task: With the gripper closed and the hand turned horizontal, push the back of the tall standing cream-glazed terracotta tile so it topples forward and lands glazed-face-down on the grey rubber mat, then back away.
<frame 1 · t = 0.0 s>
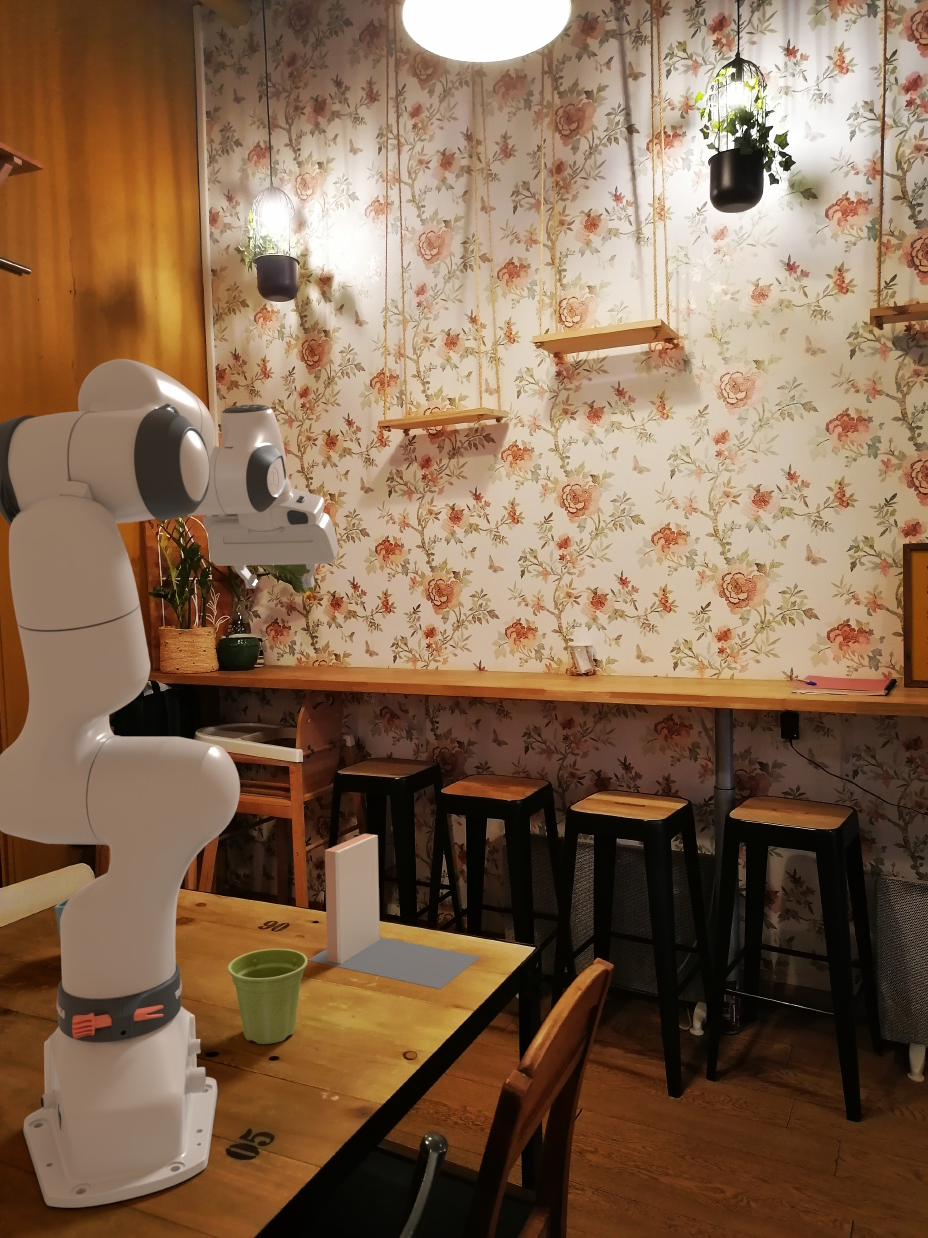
hand: (280, 586, 150), 54 cm above the table, tool tilted 30°, fingers open, 8 cm apart
plant pot: (269, 1035, 113), on the table
tile: (354, 950, 138), resting on mat
mat: (394, 961, 134), on the table
flower pot: (99, 958, 138), on the table
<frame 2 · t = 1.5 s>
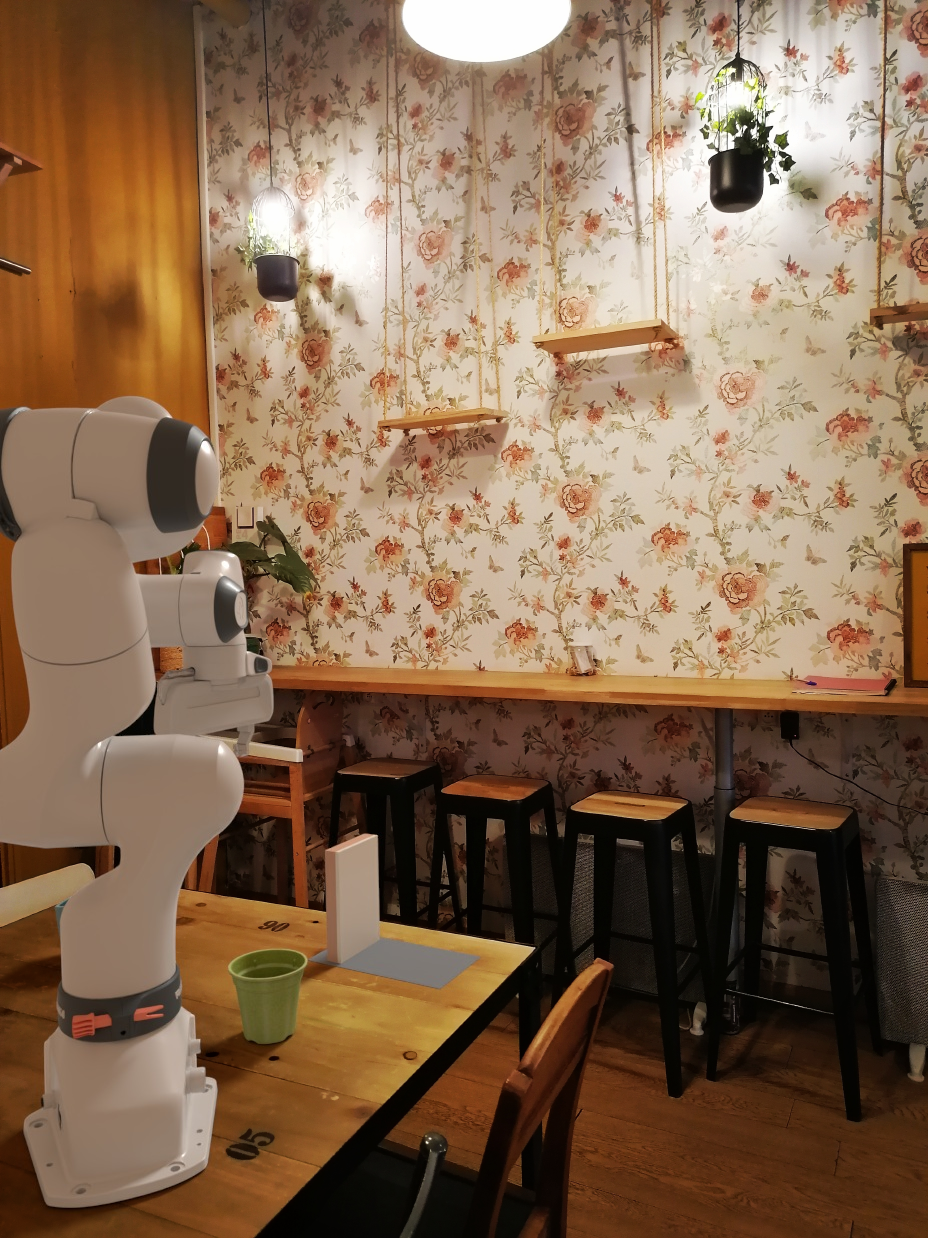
hand: (217, 761, 133), 29 cm above the table, tool pointing down, fingers open, 8 cm apart
nothing on the table moved.
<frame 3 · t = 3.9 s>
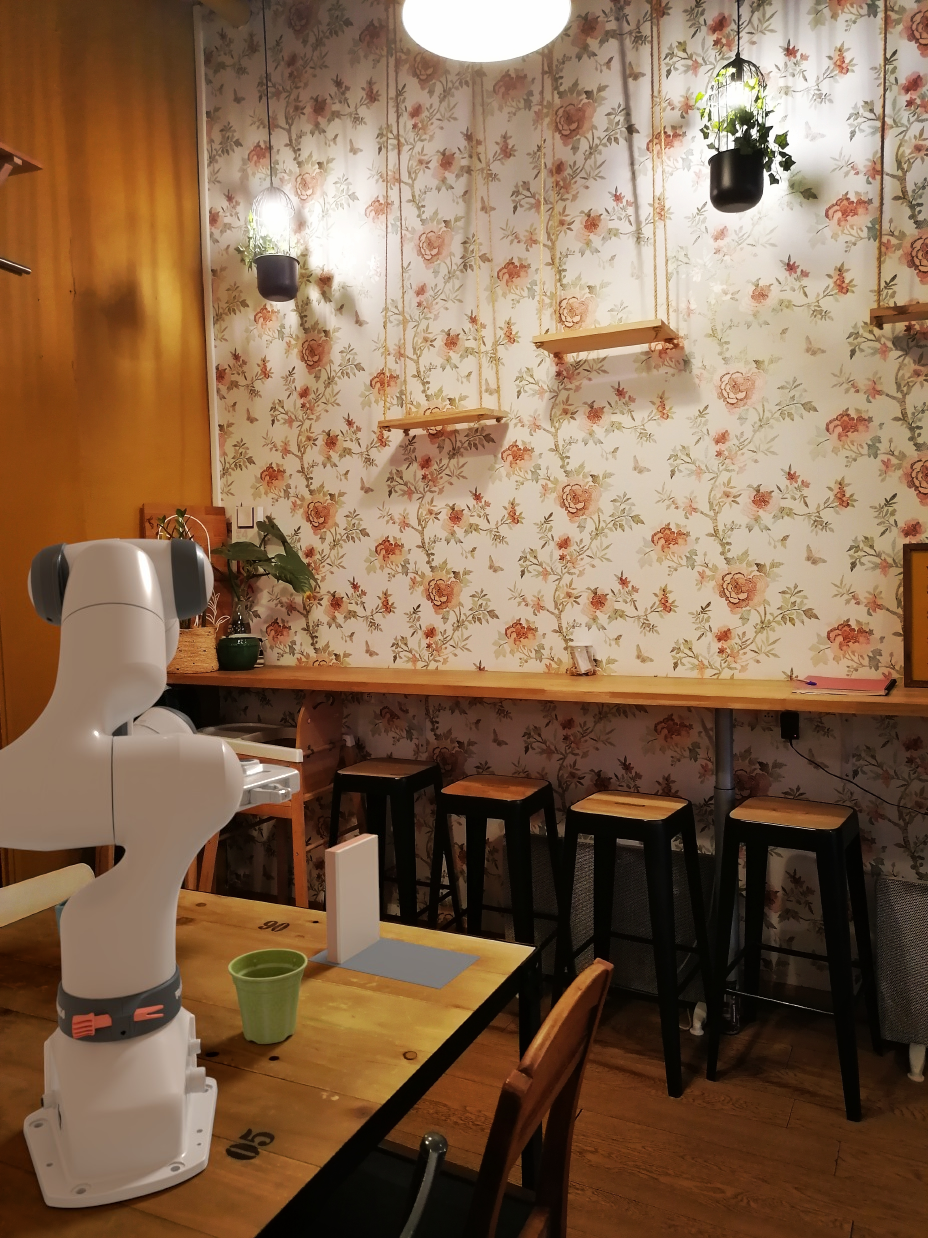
hand: (285, 796, 143), 22 cm above the table, tool horizontal, fingers closed
nothing on the table moved.
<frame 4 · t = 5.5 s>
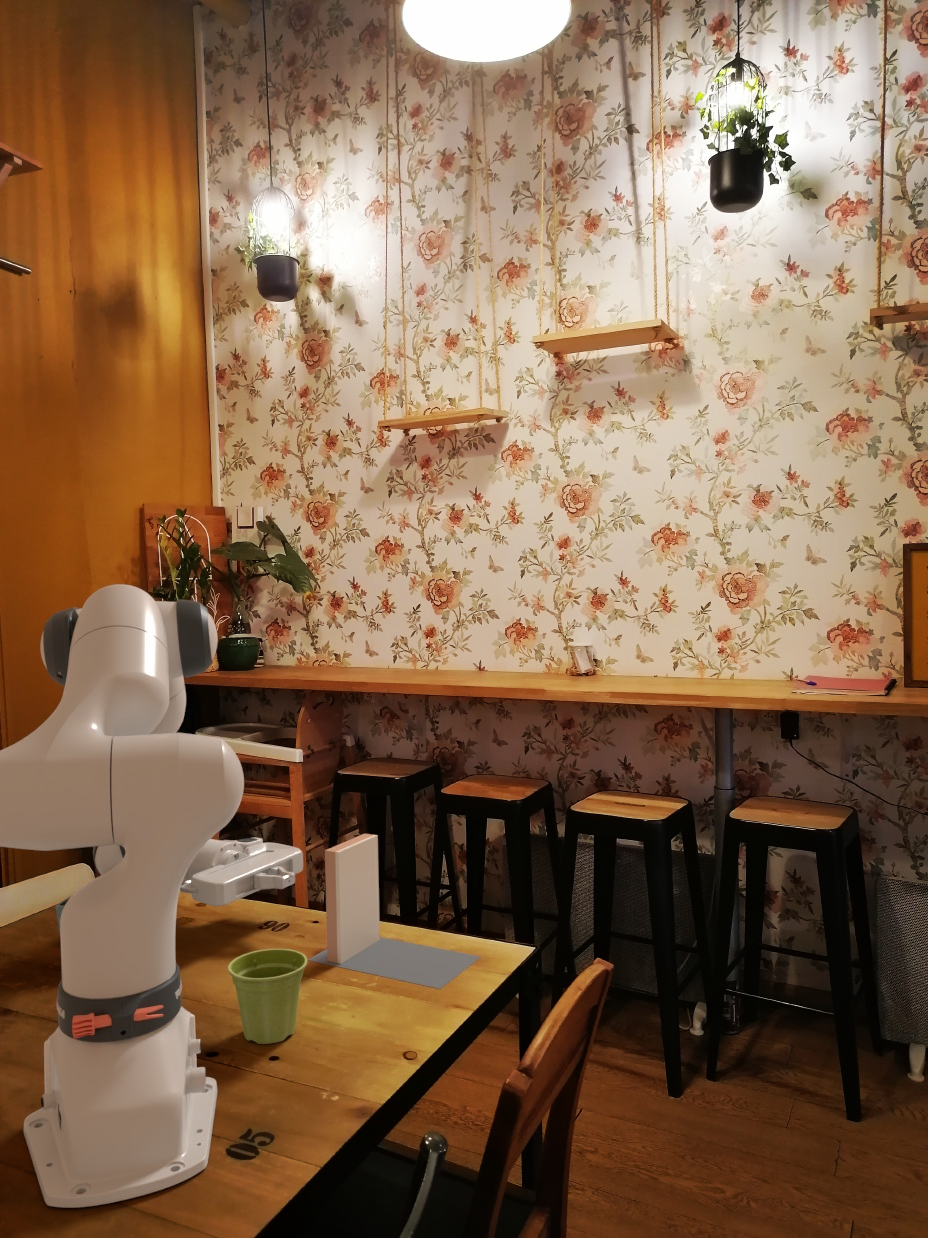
hand: (289, 881, 143), 9 cm above the table, tool horizontal, fingers closed
flower pot: (99, 958, 138), on the table, touching arm
everything else where it was.
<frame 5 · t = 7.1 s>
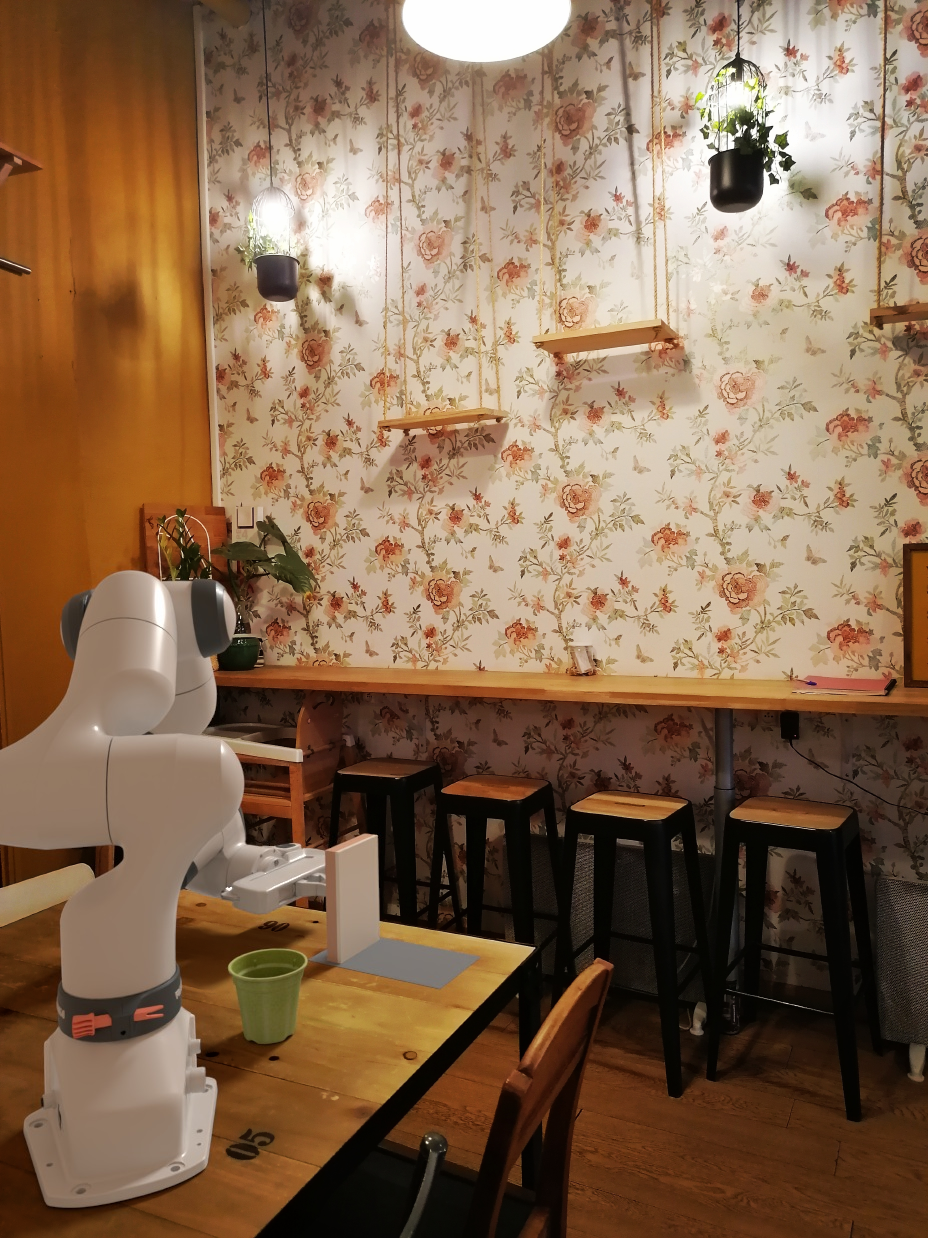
hand: (332, 888, 139), 9 cm above the table, tool horizontal, fingers closed
flower pot: (108, 947, 137), point 2 cm above the table, touching arm
everything else where it was.
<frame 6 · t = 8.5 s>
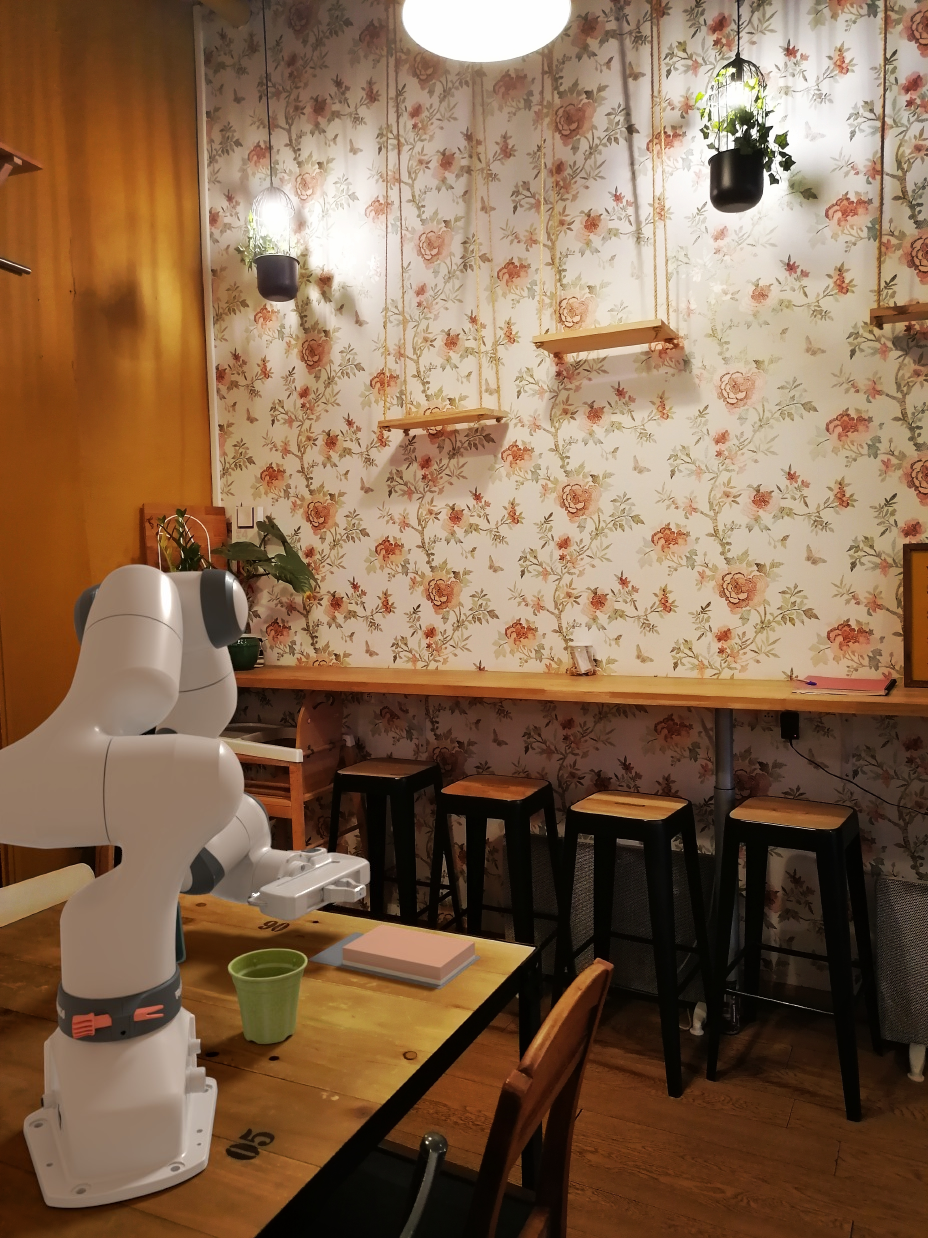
hand: (360, 894, 137), 9 cm above the table, tool horizontal, fingers closed
tile: (362, 943, 137), point 2 cm above the table, tilted 90°, touching mat
flower pot: (117, 937, 137), point 3 cm above the table
everything else where it was.
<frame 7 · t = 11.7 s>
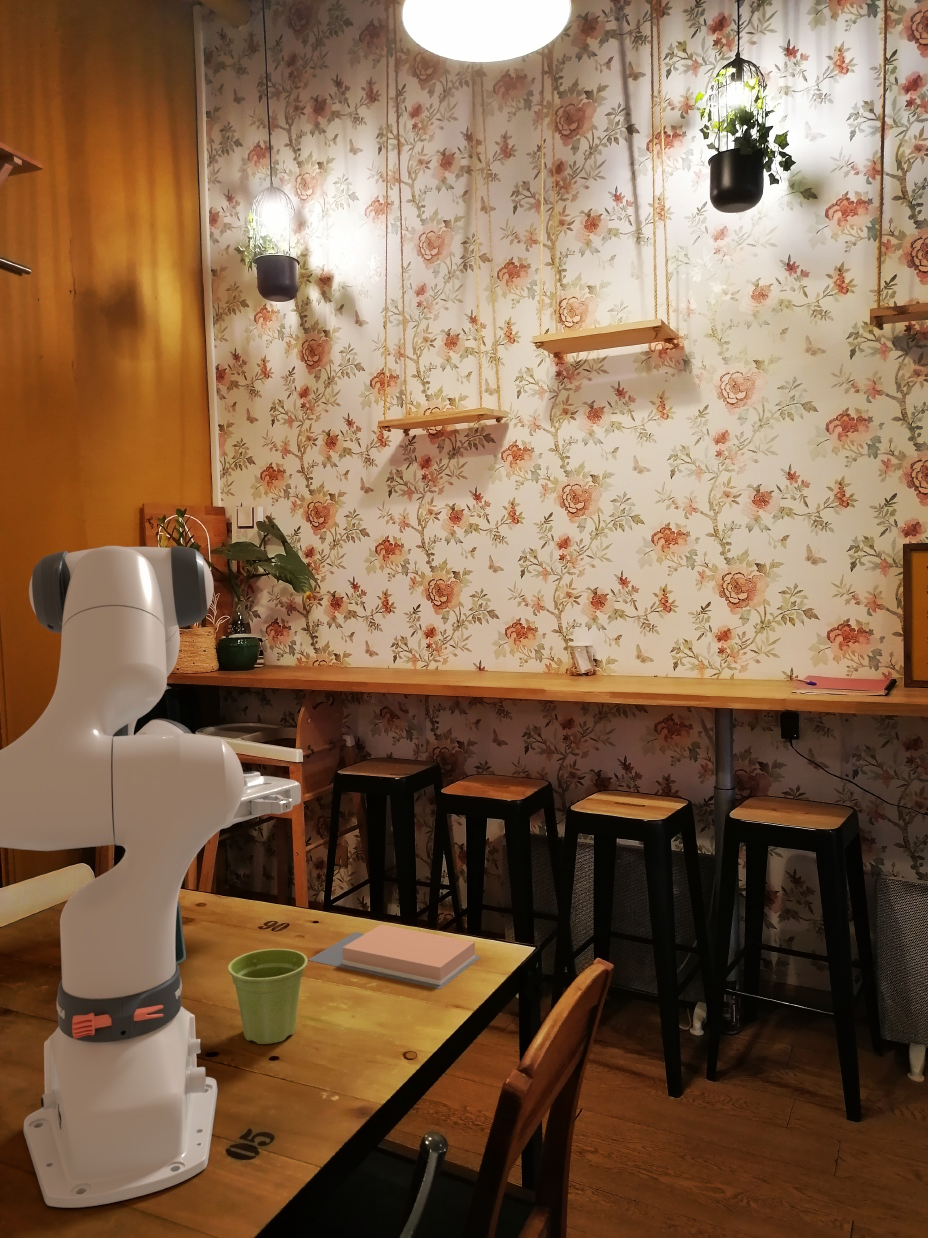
hand: (286, 806, 142), 21 cm above the table, tool horizontal, fingers closed
nothing on the table moved.
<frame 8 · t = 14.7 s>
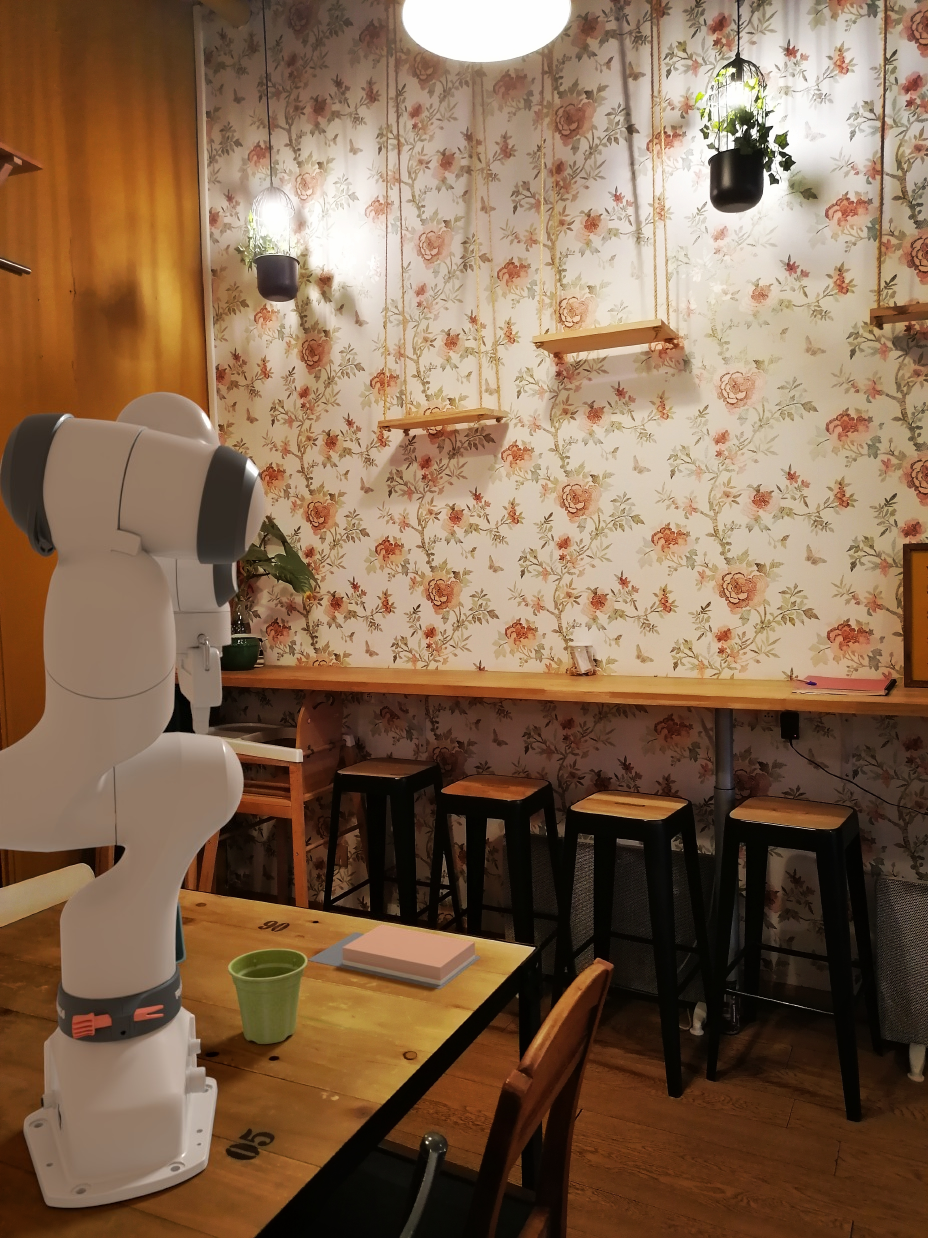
hand: (200, 732, 130), 34 cm above the table, tool pointing down, fingers closed
nothing on the table moved.
at the end: tile tilted 90°; tile 5.5 cm from the mat (horizontally); tile point 1.6 cm above the table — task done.
